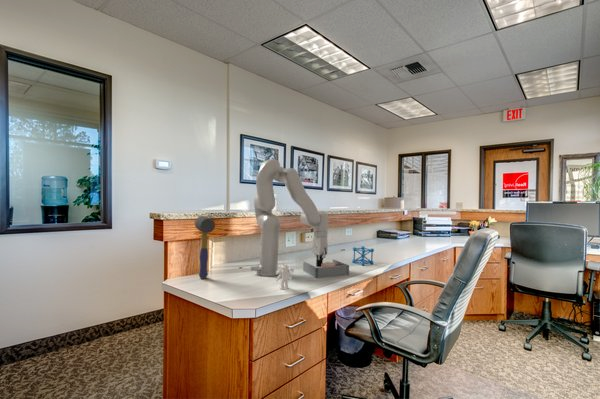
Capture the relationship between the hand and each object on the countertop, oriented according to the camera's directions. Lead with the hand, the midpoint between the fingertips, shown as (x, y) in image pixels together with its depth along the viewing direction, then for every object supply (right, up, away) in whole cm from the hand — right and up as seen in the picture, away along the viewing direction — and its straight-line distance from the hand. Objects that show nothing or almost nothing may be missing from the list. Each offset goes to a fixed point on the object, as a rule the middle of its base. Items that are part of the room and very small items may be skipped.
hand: (319, 266), depth 173 cm
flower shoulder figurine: (-18, -2, -35) cm, 40 cm away
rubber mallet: (-58, -1, -24) cm, 63 cm away
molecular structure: (+29, -3, +20) cm, 35 cm away
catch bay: (+3, -2, -5) cm, 6 cm away
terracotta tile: (+6, -2, -1) cm, 6 cm away
